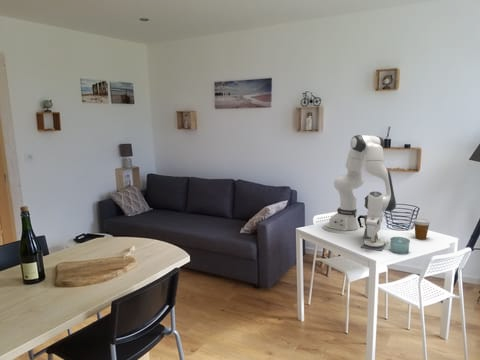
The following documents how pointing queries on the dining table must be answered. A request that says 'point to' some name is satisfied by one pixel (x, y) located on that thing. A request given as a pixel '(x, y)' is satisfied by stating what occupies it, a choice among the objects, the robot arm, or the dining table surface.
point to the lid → (375, 243)
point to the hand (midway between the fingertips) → (373, 240)
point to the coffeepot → (365, 225)
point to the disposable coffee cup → (421, 228)
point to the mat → (373, 247)
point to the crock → (400, 245)
